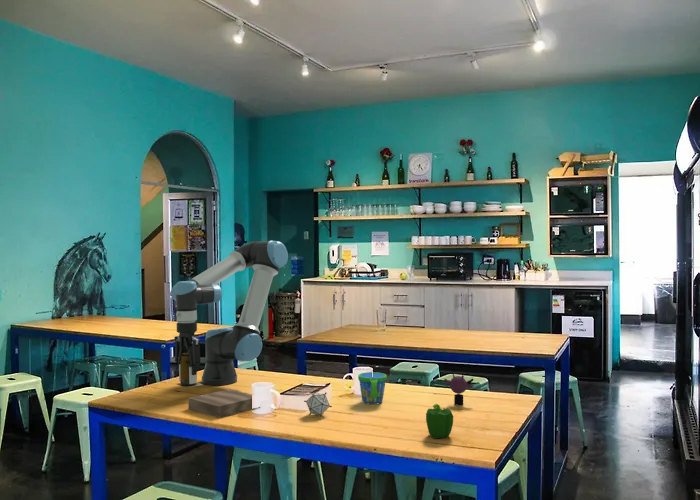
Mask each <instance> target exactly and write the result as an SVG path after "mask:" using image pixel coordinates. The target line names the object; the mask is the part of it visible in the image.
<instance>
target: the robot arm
mask: <svg viewBox="0 0 700 500" xmlns="http://www.w3.org/2000/svg"><path fill="white" fill-rule="evenodd" d="M288 256H289V254H288V249H287V247H286V246H285V244H284V243H282V242H281V241H279V240H267V241H266V240H265V241H264V240H257V241H256V240H255V241H251V242H248V243H246V244H244V245H241V246H240V247H238V248H236V249H235V250H233V251H231V252H230V253H229V254H228V256H227V257H226V258H224V259H222V260H221V261H218V262H217V263H216V264H214V265H212V266H210V267H209V268H207V269H206V270H204V271H203V272H201V273H200V274H198V275H195V276H193V278H191V279H189V280H185V281H184V280H183V281H177V282H176V284H174V285H173V286H172V288H171V291H170V295H171V296H170V297H171V298H172V300H174V301H175V303H176V304H175V306H176V308H175V309H176V314H175V316H176V332H177V333H179V334H178V335H176V336H174V362H175V363H177V364H178V372H179V373H178V374H179V376H178V379H179V380H178V382H180V361H181V354H182V353H185V352H188V355H189V360H190V366H189V384H194V383H198V382H197V379H198V369H197V368H198V366H199V365H201V362H202V361H201V348H200V347H201V346H200V344H201V339H200V338H196V335H195V333H196V332H197V331H198V322H197V320H198V312H197V311H198V309H197V306H199V305H207V304H208V305H209V304H214V303H219V302H220V301H221V299H222V297H223V291H222V288H221V286H220V285H218V284H219V283H221V282H223V281H225V280H226V279H228V278H229V277H230V276H232V275H233V274H235V273H237V272H242V271H245V270H246V269H249V268H252V269H253V271H254V272H253V275H252V278H251V282H250V285H249V288H248V290H247V294H246V298H245V300H244V304H243V307H242V310H241V313H240V316H239V320H238V322H237V323H235V324H234V325H233V327H223V328H215V329H214V328H213V329H209V330H207V331H206V332H205V338H204V339H205V340H204V341H205V342H204V343H205V366H204V369H203V373H202V376H201V384H203V385H206V386H207V385H208V386H225V385H231V384H234V383H237V382H238V374H237V371H236V369H235V364H234V361H238V362H239V361H240V362H252V361H253V360H255V359H257V358H258V357H259V356H260V354H261V352H262V349H263V342H262V341H263V339H262V337H261V336H260V335H261V331H260V329H259V326H260V322H261V319H262V316H263V313H264V310H265V306H266V302H267V299H268V296H269V293H270V288H271V285H272V282H273V279H274V277H275V276H277V275H278V274H279V271H280V269H281V268H283V267H285V266H286V265H287V263H288V259H289V257H288Z"/></svg>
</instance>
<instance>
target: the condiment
mask: <svg viewBox="0 0 700 500" xmlns="http://www.w3.org/2000/svg"><path fill="white" fill-rule="evenodd" d="M189 366H190V360H189V355H188V351H187V352H185V353H182V354H181V361H180V381H179V383H176V385H177V386H180V387H182V388H192V387H198V386H199V387H200V386H203V385H204V384H203V383H200V382H197V383H194V384H189Z"/></svg>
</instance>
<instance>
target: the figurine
mask: <svg viewBox="0 0 700 500" xmlns="http://www.w3.org/2000/svg"><path fill="white" fill-rule="evenodd" d="M460 374H461V375H457V376H456V375H455V373H454V371H452V372H451V375H452V378H451V380H450V379H447V378H444V379H443V380H444V382H445V383H448V384H449V387H450V390H451V391H452V392H453V393H455V394H454V399H453V401H454V402H453V404H454V405H455V406H464V395H463V393H464V392H466V390H467V389H468V387H469V388H471V389H472V388H473V386H474V385H472V382H473V381H474V379H473V378H471V379H469V380H466V378H465V377H464V374H465V373H464V371H461V372H460Z"/></svg>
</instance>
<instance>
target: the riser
mask: <svg viewBox="0 0 700 500" xmlns="http://www.w3.org/2000/svg"><path fill="white" fill-rule="evenodd" d="M252 395H253V394H251V393H246V392H242V391H238V390H235V389H230V388H228V389H224V390H219V391H215V392H210V393H205V394H200V395H196V396H192V397H191V396H190V397H188V398H187V399H188V404H187V405H188V410H189V411H193V412H197V413H200V414H204V415H206V416H210V417H214V418H217V419H221V418H226V417H229V416H233V415H237V414H241V413H245V412H248V411H249V412H250V411H252V410H251V409H252Z"/></svg>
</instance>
